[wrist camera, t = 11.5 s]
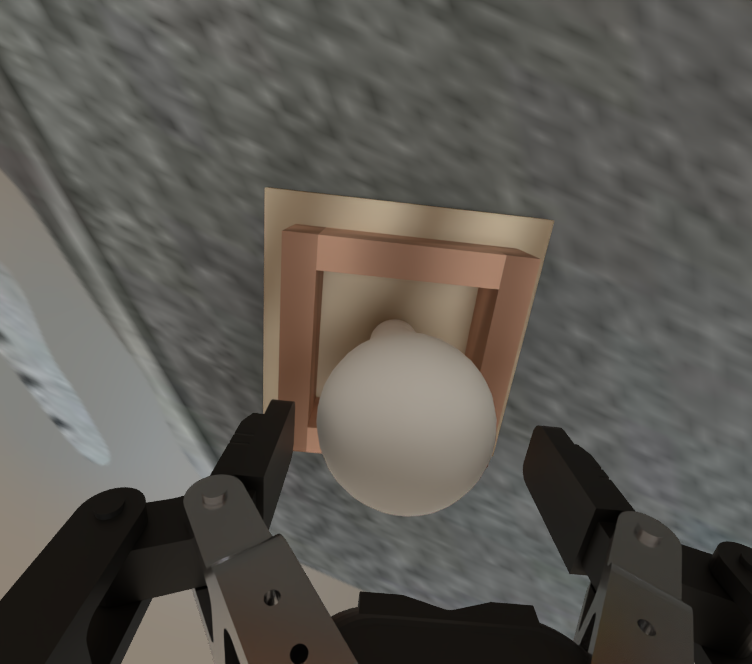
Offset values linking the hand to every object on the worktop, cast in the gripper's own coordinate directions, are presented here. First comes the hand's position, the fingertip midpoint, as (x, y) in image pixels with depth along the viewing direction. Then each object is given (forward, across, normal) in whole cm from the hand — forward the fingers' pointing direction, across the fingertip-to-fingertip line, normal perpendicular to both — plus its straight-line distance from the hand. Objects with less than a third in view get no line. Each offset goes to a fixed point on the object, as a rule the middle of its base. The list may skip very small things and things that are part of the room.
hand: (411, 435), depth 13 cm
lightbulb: (+9, 0, 0) cm, 9 cm away
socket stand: (+10, 0, 0) cm, 10 cm away
